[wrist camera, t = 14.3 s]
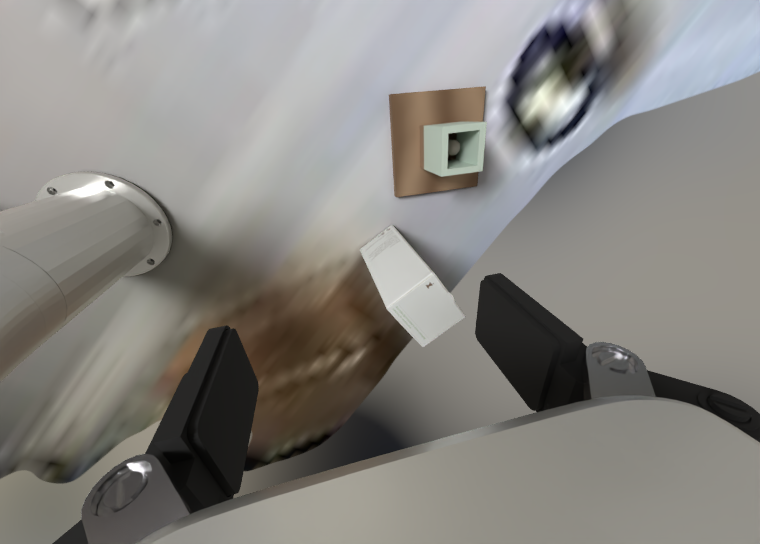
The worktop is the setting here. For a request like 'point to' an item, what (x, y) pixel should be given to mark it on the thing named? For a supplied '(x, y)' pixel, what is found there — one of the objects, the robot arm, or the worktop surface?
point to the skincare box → (410, 287)
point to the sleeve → (437, 147)
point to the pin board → (406, 136)
